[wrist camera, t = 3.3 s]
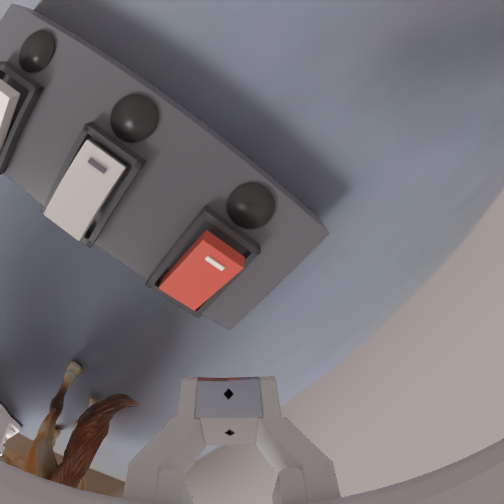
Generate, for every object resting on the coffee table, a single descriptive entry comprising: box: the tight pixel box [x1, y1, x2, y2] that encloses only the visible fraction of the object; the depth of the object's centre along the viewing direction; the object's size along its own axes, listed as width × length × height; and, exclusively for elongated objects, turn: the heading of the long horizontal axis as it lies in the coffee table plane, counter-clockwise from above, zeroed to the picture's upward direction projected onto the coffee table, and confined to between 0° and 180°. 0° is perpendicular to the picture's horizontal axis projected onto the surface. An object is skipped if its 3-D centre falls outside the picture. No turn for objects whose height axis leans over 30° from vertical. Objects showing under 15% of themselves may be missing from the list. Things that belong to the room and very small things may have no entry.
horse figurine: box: [22, 361, 139, 491], centre depth 23 cm, size 31×8×21 cm, turn 144°
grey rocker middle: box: [43, 140, 128, 241], centre depth 16 cm, size 5×3×2 cm, turn 140°
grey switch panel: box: [0, 4, 329, 330], centre depth 16 cm, size 10×34×4 cm, turn 49°
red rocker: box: [159, 230, 245, 311], centre depth 19 cm, size 5×3×2 cm, turn 139°
